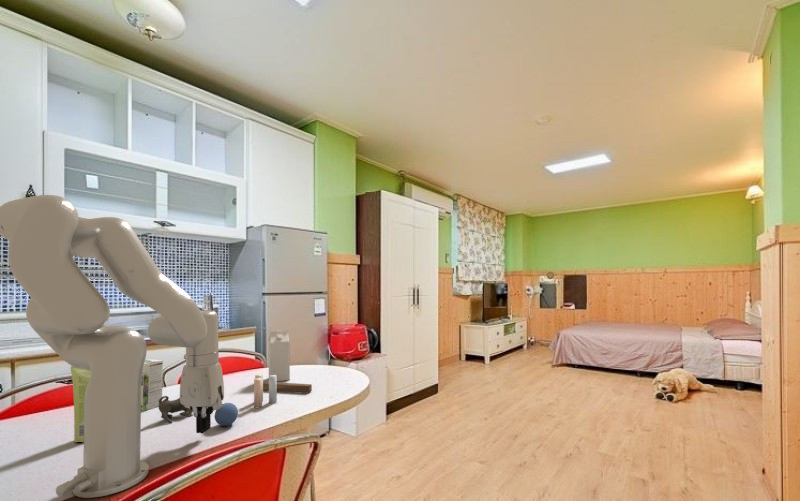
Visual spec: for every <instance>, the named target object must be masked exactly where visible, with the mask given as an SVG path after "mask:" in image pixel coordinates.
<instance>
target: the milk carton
mask: <svg viewBox="0 0 800 501" xmlns="http://www.w3.org/2000/svg"><path fill="white" fill-rule="evenodd" d="M290 344H291V343H290V336H289V329H284V330H283V329H282V330H271V331H269V336H268V377H269V376H270V375H277V382H285V381H290V380H291V379H290V377H291V373H290V372H291V371H290V370H291V368H290V366H291V365H290V363H291V361H290V358H291V355H290V354H291V353H290V352H291V351H290V347H291V346H290Z"/></svg>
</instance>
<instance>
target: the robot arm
mask: <svg viewBox="0 0 800 501" xmlns="http://www.w3.org/2000/svg"><path fill="white" fill-rule="evenodd" d="M0 236H1V237H2V238H4V239H5V240H7V241H9V247H8V265H9V268H10V270H11V271H10V272H11V273H12V275H13V276H14V278H15V280H16V281H17V283H18V284H19V285H20V286H21V288H22V289H23V290H24V291H25V293H27V295H28V296H29V297H30V300H28V303H27V304H26V308H25V315H26V316H25V317H26V319H27V322H28V324H29V325H30V327H31V329H32V330H33V331H34V332H35V333H36V334H37V335H38V336H39V337H40V339H41V340H43V341H44V342H45V343H46V344H47V345H48V346H49V347H50V348H51V349H52V350H53V351H54V352H55V353H56V354H57V355H58V356H59V357H60V358H61V359H62V360H63V361H64V362H66V363H67V364H68V365H70V367H71V366H73V367H76V368H79V369H83V370H89V371H91V376H90V379H89V382H88V385H87V388H86V392H85V399H84V442H83V456H82V457H83V463H82V464H83V465H82V466H81V467H79V468H77V474H76V475H74V476H73V477H72V479H70V480H67V481H66V482H63V483H61V484H59V485H58V486H57V487H56V488H55V493H56V496H58V497H62V496H64V495H67V494H68V493H69V492H72V493H74V494H75V495H74V494H73V495H74V496H76V497H78V498H84V499H92V498H100V497H107V496H110V495H114V494H118V493H119V492H122V491H124V490H127V489H130V488H131V487H134V486H135V485H137V484H139V483H140V482H141V481H143V480H144V479H145V478H146V477H147V475H148V474H149V470H150V468H149V464H148V462H145V461H142V460H141V437H142V436H141V434H142V433H141V426H142V424H141V423H142V421H141V420H142V419H141V418H142V415H141V414H142V410H141V381H142V372H143V367H144V363H145V360H146V357H147V351H148V350H147V342H146V340H145V338H144V336H143V335H142V334H141V333H140V332H138V331H137V330H135V329H133V328H131V327H126V326H120V325H119V326H118V325H117V326H116V325H107V324H106V323H107V322H108V321H109V318H110V316H111V309H110V306H109V303H108V301H107V300H106V299H105V296H103V294H102V293H100V291H99V290H98V289H97V288H96V287H95V285H94V284H93V283H92V282H91V281H90V280H89V278H88V277H87V275H86V274H84V272H83V271H82V270H81V268H80V267H79V265H78V264H77V262H76V260H75V259H74V258H73V257H78V258H79V257H80V258H86V259H87V258H95V259H96V260H97V261H98V263H99V264H100V265H101V266H102V268H103V269H104V271H105V272H106V273H107V275H108V276H109V277H110V279H111V280H112V282H113V283H114V284H115V286H116V287H117V288H118V290H119V291H120V293H121V294H123V295H124V296H126V297H127V298H129V299H131V300H133V301H135V302H137V303H140V304H141V305H143V306H147V307H149V308H150V309H152V310H153V311H154V312H156V313H157V314H159V316H156V317H155V318H154V319H152V321H151V322H150V323H149V325H148V326H147V336H148V338H149V339H150V340H151V341H152V342H153V343H154V344H157V345H158V346H159V345H161V346H167V347H180V348H185V354H184V355H183V359H184V360H185V365H183V367H182V371H181V374H180V384H179V398H180V403H181V404H182V405H184V407H186V408H189V409H191V410H192V416H193V417H194V418H195V428H196V429H195V432H196V434H205V433H206V432H207V431H210V429H211V427H212V426H211V420H212V419H211V415H212V414H213V412H214V411H216V410H218V409H220V408H222V407H223V405H222V404H223V401H224V397H225V386H224V385H225V384H224V374H223V368H222V364H221V363H220V362H219V360H220V359H219V314H218V313H217V312H216V311H215V310H210V309H209V310H208V309H207V310H200V307H199V306H198V305H197V303H196V302H195V301H194V299H193V298H192V297H191V296H190V295H189V294H188V293H187V292H186V291H184V290H183V289H182V288H181V287H180V286H178V284H176V282H173V280H171V279H170V278H169V277H167V276H166V275H165V274H163V272H162V271H161V270H160V268H159V267H158V266H157V264H156V263H155V261H154V259H153V258H152V256H151V255H150V254H149V252H148V250H147V249H146V248H145V245H144V244H143V243H142V241H141V239H140V238H139V236H138V235H137V233H136V232H135V231H134V229H133V227H132V226H131V225H130V224H129V223H128V222H127V221H126V220H124V219H121V218H119V217H115V216H114V217H113V216H107V217H106V216H104V217H102V216H101V217H96V218H86V217H81V216H79V213H78V210H77V208H76V206H75V205H74V204H73V203H72V202H71V201H69V200H68V198H67V199H66V198H65V197H62V196H59V195H54V194H53V195H52V194H42V195H39V194H38V195H34V196H29V197H23V198H19V199H13V200H10V201H8V202H5V203H3V204H2V205H0Z"/></svg>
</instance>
